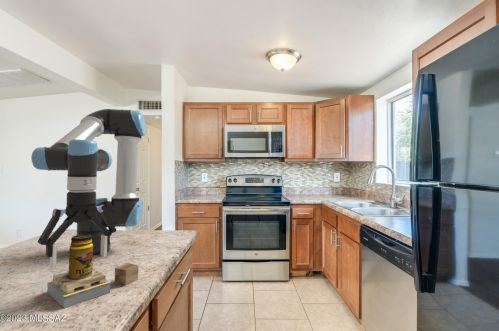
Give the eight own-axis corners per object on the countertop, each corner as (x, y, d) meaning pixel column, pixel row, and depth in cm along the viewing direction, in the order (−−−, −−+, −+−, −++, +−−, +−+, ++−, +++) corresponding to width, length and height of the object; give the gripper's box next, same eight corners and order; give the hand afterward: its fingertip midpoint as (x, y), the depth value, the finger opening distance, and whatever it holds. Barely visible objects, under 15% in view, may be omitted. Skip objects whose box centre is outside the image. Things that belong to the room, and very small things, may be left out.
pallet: (52, 282, 79) (52, 275, 79) (89, 272, 87) (89, 266, 87) (67, 294, 72) (67, 287, 72) (105, 282, 80) (105, 275, 80)
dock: (47, 292, 79) (47, 282, 79) (90, 279, 88) (91, 270, 88) (64, 308, 70) (64, 296, 70) (110, 292, 80) (110, 282, 80)
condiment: (88, 280, 76) (89, 238, 76) (55, 282, 74) (56, 239, 75) (97, 270, 83) (98, 232, 84) (67, 272, 82) (68, 233, 82)
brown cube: (114, 283, 86) (114, 267, 86) (126, 277, 91) (127, 262, 91) (125, 286, 84) (126, 270, 84) (137, 280, 89) (138, 265, 89)
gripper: (33, 194, 67) (30, 277, 67) (128, 189, 87) (126, 254, 87) (25, 192, 72) (23, 270, 72) (117, 188, 92) (115, 249, 92)
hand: (79, 261), depth 79 cm, fingers open, 13 cm apart
